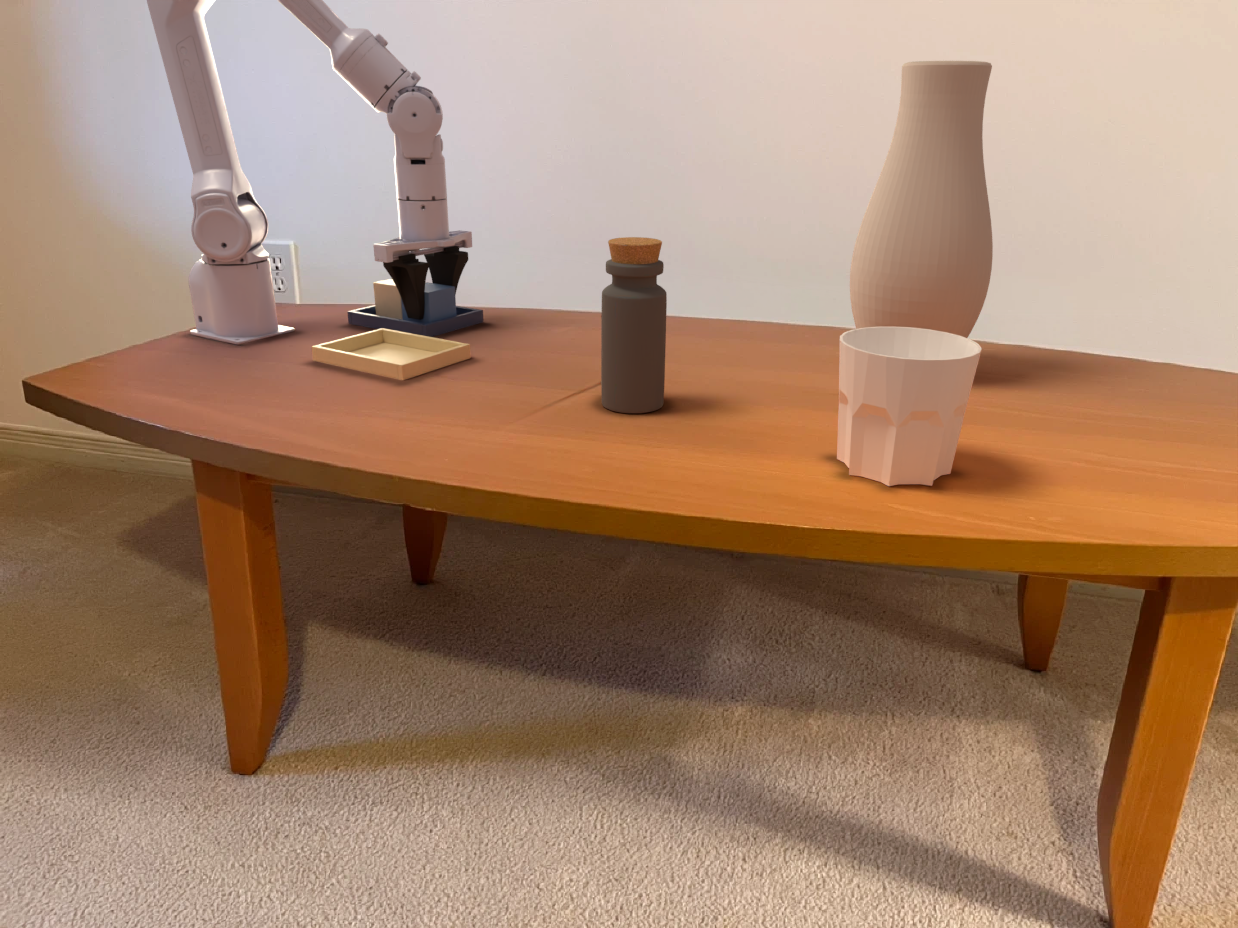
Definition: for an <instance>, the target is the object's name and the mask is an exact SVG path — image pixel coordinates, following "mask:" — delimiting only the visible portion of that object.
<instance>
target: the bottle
mask: <svg viewBox="0 0 1238 928" xmlns="http://www.w3.org/2000/svg"><path fill="white" fill-rule="evenodd" d="M607 243H608V248H609V253H610V259H608V260H606V261H605V272H606V273H607V274H608V275H611V283H610V284H608V285H607V286H606V287H604V288H603V290H602V292H601V314H600V315H601V325H600V326H601V333H600V335H601V339H600V342H601V343H600V345H601V346H600V347H601V349H600V350H601V351H600V352H601V353H600V354H601V355H600V356H601V358H600V359H601V360H600V361H601V363H600V364H601V365H600V366H601V367H600V369H601V370H600V374H601V375H600V377H601V378H600V379H601V381H600V383H601V384H600V385H601V389H600V390H601V391H600V392H601V405H602V407H604V408H605V409H606V410H609V411H612V412H616V413H622V414H645V413H651V412H656V411H658V410H660V409H661V408H662V407H663V406H664V403H665V402H664V400H665V398H664V397H665V377H666V376H665V375H666V347H667V346H666V345H667V344H666V343H667V310H668V309H667V306H668V305H667V303H668V302H667V301H668V299H667V297H668V295H667V290H666V289H665V288H663V286H661V285H659V284H658V281H657V280H658V276H660V275H662V274H663V273H664V268H665V267H664V266H665V265H664V261H662V260H660V259H659V258H660V253H661V249H662V246H663V241H662V240H661V239H658V238H652V237H641V236H640V237H639V236H628V237H626V236H625V237H616V238H611V239H609V240H608V241H607Z"/></svg>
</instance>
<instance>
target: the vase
mask: <svg viewBox="0 0 1238 928" xmlns="http://www.w3.org/2000/svg"><path fill="white" fill-rule="evenodd" d="M992 69H993V65H992V63H991V62H988V61H982V60H980V61H979V60H923V61H922V60H919V61H918V60H917V61H908V62H904V63H903V64H902V66H901V80H900V81H901V84H900V97H899V105H898V112H897V117H896V122H895V127H894V131H893V135H892V138H891V142H890V145H889V148H888V151H887V154H886V157H885V159H884V162H883V166H882V168H881V171H880V174H879V176H878V178H877V180H876V184H875V187H874V189H873V191H872V194H871V195H870V199H869V200H868V204H867V207H866V210H865V212H864V215H863V217H862V221H861V223H860V226H859V229H858V233H857V236H856V239H855V243H854V247H853V251H852V257H851V262H850V271H849V297H850V306H851V313H852V318H853V321H854V325H855V329H859V328H867V327H911V328H921V329H930V330H936V331H941V332H947V333H951V334H955V335H959V336H962V337H965V338H968V339H969V336H970V334H971V333H972V331H973V329H974V327H975V325H976V323H977V321H978V319H979V316H980V315H981V313H982V310H983V307H984V305H985V301H986V298H987V295H988V291H989V287H990V282H991V276H992V268H993V255H994V254H993V252H994V251H993V247H994V245H993V229H992V219H991V218H992V217H991V209H990V201H989V195H988V187H987V186H988V185H987V179H986V172H985V161H984V160H985V159H984V148H983V147H984V146H983V145H984V142H983V130H984V129H983V128H984V127H983V126H984V125H983V124H984V111H985V104H986V96H987V92H988V87H989V82H990V77H991V73H992Z"/></svg>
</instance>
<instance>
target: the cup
mask: <svg viewBox="0 0 1238 928" xmlns="http://www.w3.org/2000/svg"><path fill="white" fill-rule="evenodd" d="M982 349H983V348H982V347H981V345H980V344H979V343H978V342H976V341H975V340H973V339H971V338H969V337H968V338H965V337H962V336H959V335H955V334H951V333H947V332H941V331H936V330H930V329H921V328H911V327H867V328H859V329H856V328H855V329H850V330H846V331H844V332H843V333H841V334H840V335H839V355H838V356H839V358H838V359H839V361H838V363H839V364H838V408H837V409H838V410H837V411H838V412H837V415H838V416H837V445H836V460H838V461H840V462H842V463H844V464H845V465H846V467H847V468H848V476H855V477H862V478H866V479H869V480H872V481H876V482H879V483H881V484H883V485H885V486H887V487H893V486H897V485H923V486H930V487H932V486H933V484H934V481H935V480H936V479H938V478H939V477H941V476H946V475H950V474H951V473H952V469H953V466H954V465H953V464H954V462H955V461H954V460H955V456H956V452H957V447H958V444H959V440H960V435H961V432H962V428H963V425H964V424H963V423H964V419H965V414H966V411H967V407H968V404H969V399H970V395H971V393H972V392H971V391H972V387H973V384H974V380H975V376H976V372H977V368H978V364H979V361H980V356H981V353H982Z"/></svg>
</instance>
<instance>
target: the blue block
mask: <svg viewBox="0 0 1238 928" xmlns="http://www.w3.org/2000/svg"><path fill="white" fill-rule="evenodd" d="M424 295H425V309H424V318H423V319H421V320H418V319H412V318H408V316H407V313H406V310H405V307H404V304H403V302H402V299H401V302H402V315H403V320H407V321H413V322H419V323H424V324H427V323H431V322H434V321H438V320H442V319H445V318H449V317H453V316H456V306H457V301H456V295H455V287H454V286H448V285H441V284H435V283H432V282H428V281H427V282H426V283H425V294H424Z"/></svg>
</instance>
